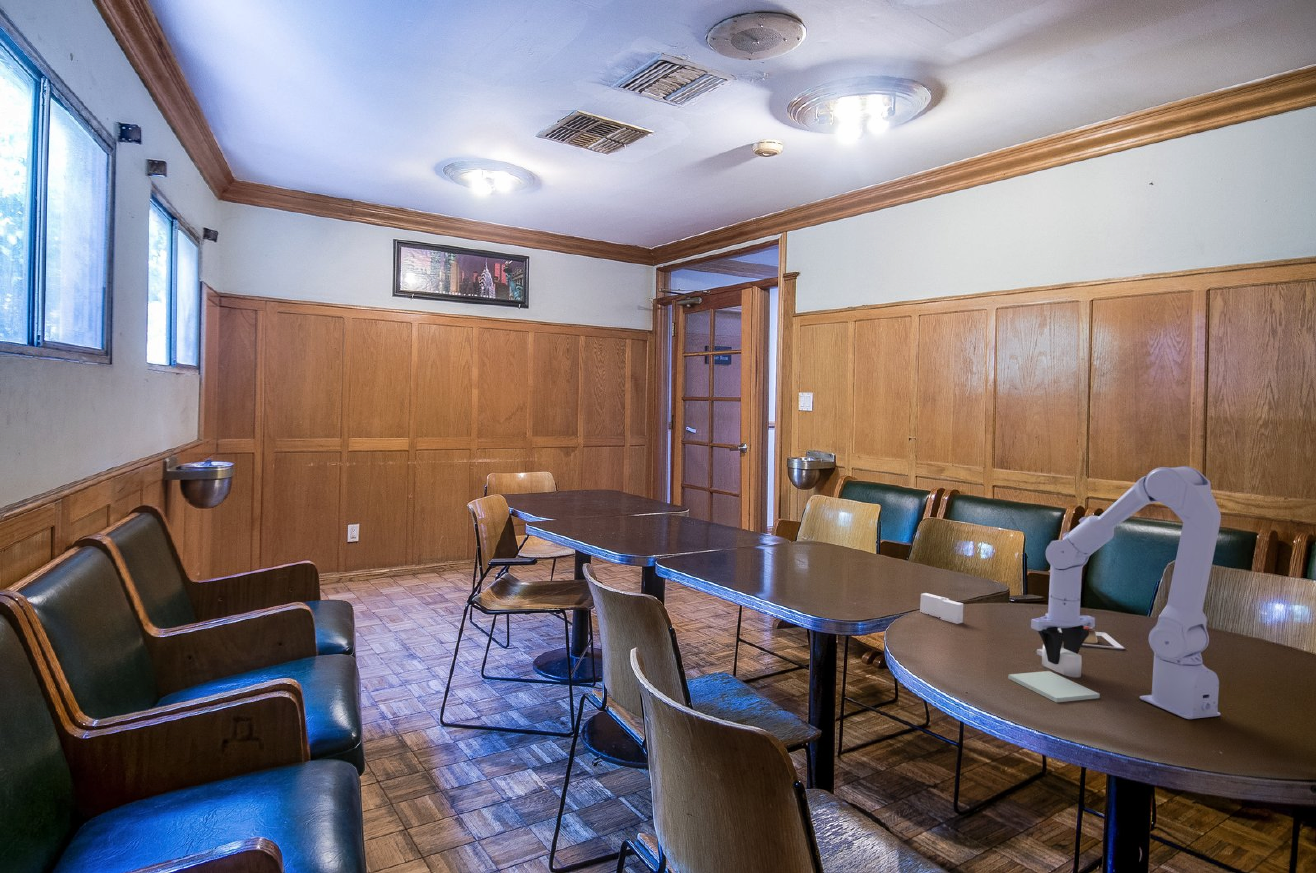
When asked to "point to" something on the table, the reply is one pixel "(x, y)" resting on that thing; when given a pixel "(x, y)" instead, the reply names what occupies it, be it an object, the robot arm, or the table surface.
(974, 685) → the table surface
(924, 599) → the white upright tiles
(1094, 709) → the table surface
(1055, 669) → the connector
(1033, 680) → the sage pad
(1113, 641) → the dessert
